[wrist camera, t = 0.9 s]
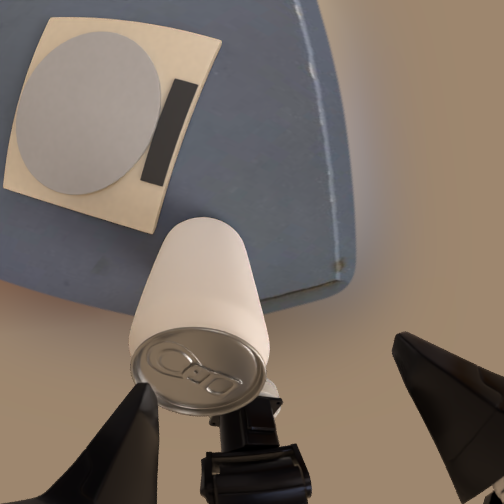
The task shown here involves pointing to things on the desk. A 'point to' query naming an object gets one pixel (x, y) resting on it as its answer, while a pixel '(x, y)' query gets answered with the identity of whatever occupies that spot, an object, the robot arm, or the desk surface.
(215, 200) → the desk surface
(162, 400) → the can
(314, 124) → the desk surface
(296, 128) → the desk surface
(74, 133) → the scale
